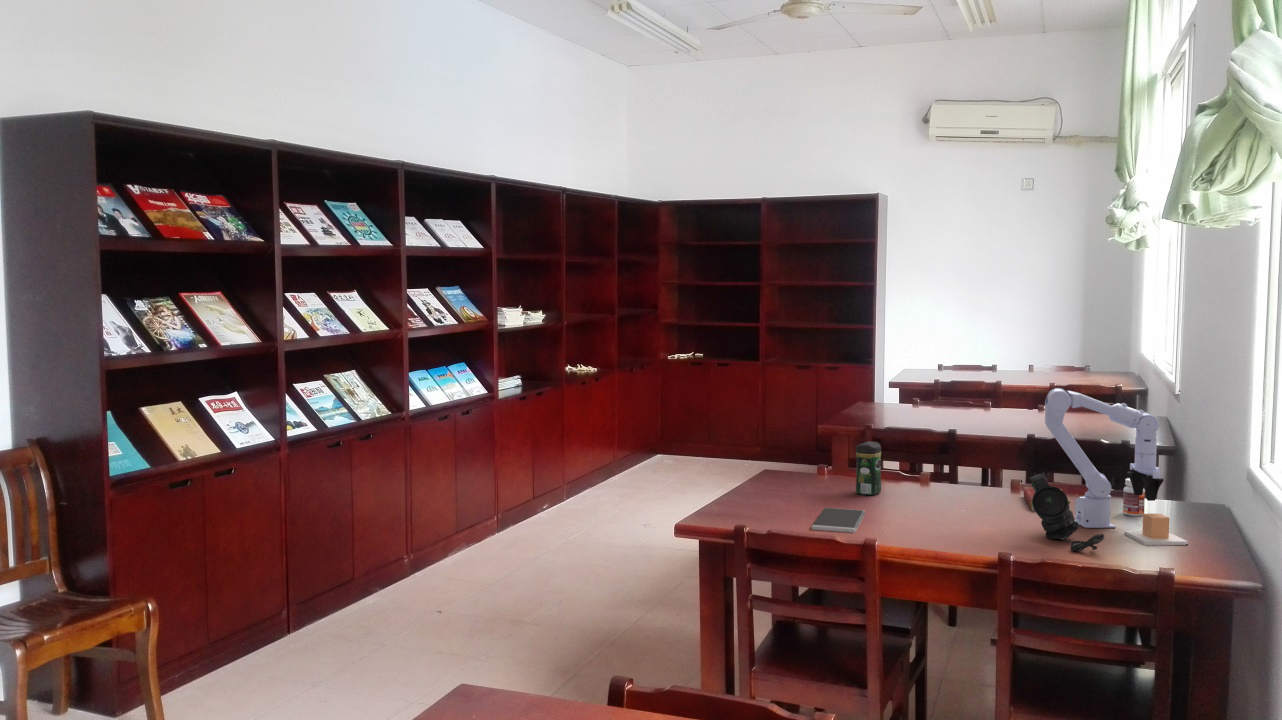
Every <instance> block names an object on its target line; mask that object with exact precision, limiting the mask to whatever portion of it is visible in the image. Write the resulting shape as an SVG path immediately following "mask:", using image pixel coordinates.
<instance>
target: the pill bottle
mask: <svg viewBox="0 0 1282 720" xmlns="http://www.w3.org/2000/svg"><path fill="white" fill-rule="evenodd" d="M1124 485H1126V486H1124V487H1123V494H1122V495H1123V496H1122V497H1123V498H1122V499H1123V501H1122V504H1123V505H1122V513H1123V514H1124V515H1125V516H1126V515H1127V516H1130V517H1131V516H1132V517H1143V514H1145V506H1146V505H1145V498H1146V489H1145V487H1144V488H1143V494H1142V495H1134V492H1133V487H1132V483H1131V480H1130V478H1129V477H1127V478H1125V482H1124Z"/></svg>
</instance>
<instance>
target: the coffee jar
mask: <svg viewBox="0 0 1282 720" xmlns="http://www.w3.org/2000/svg"><path fill="white" fill-rule="evenodd" d="M855 455H856V479H855V480H856V481H855V493H856V494H858V495H861V496H875V495H876V496H877V495H878V494H880V493H881V492H882V477H881V476H882V473H881V472H882V471H881V470H882V467H881V459H882V458H881V457H882V447H881V444H880V443H879V442H878V441H869V440H868V441H865V442H864V443H859V444H858V445H856V447H855Z"/></svg>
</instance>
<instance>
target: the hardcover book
mask: <svg viewBox="0 0 1282 720" xmlns="http://www.w3.org/2000/svg"><path fill="white" fill-rule="evenodd" d="M1034 494H1035V491H1034V489H1033V487H1030V486H1029V487H1026V486H1025V487H1024V488H1023V498H1024V499H1025V501H1026V503H1027V505H1028V507H1029V509H1030V511H1035V510H1034V508H1033V505H1032V498H1033V496H1034ZM1068 501H1069V504H1070V503H1071V500H1069V498H1068Z"/></svg>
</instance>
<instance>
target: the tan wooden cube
mask: <svg viewBox="0 0 1282 720" xmlns="http://www.w3.org/2000/svg"><path fill="white" fill-rule="evenodd" d="M1141 528H1142V530H1141V531H1142V534H1144V535H1146V536H1148V537H1150V538H1169V533H1170V517H1169V516H1167V515H1164V514H1163V513H1144V514H1143V516H1142V527H1141Z"/></svg>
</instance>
